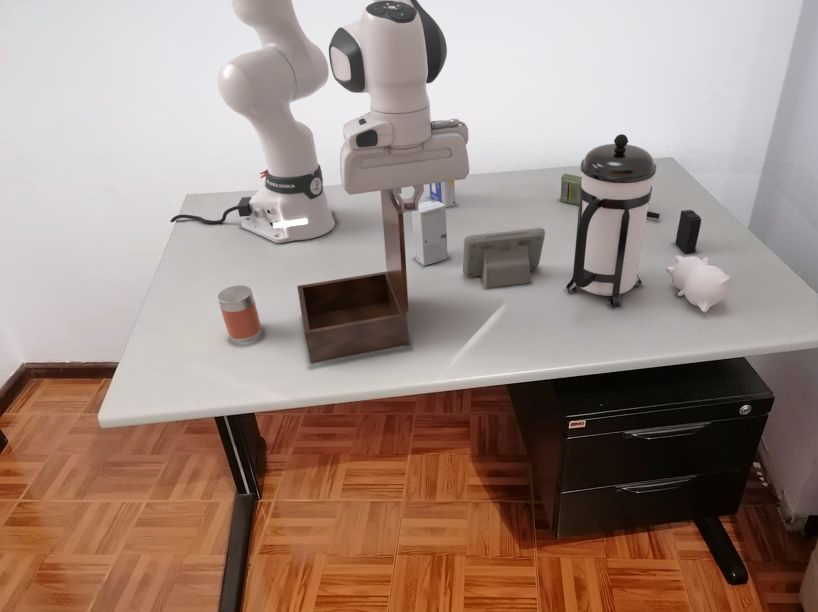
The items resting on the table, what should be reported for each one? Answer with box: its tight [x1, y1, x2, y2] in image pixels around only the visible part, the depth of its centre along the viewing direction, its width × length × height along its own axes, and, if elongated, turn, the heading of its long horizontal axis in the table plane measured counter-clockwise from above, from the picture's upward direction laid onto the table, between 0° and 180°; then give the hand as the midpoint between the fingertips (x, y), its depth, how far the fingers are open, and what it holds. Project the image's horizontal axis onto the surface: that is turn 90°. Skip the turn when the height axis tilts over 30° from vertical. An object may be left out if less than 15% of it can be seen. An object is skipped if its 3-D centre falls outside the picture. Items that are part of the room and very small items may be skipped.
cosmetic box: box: [411, 199, 449, 266], centre depth 132 cm, size 6×4×12 cm
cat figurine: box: [665, 254, 732, 313], centre depth 119 cm, size 9×11×12 cm
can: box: [217, 285, 263, 343], centre depth 111 cm, size 6×6×9 cm
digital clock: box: [462, 226, 546, 289], centre depth 126 cm, size 16×9×11 cm, turn 89°
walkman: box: [428, 180, 456, 208], centre depth 156 cm, size 8×3×12 cm, turn 32°
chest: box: [296, 270, 410, 364], centre depth 112 cm, size 17×16×7 cm
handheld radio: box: [560, 172, 661, 220], centre depth 152 cm, size 7×3×25 cm
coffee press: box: [565, 133, 657, 308], centre depth 115 cm, size 17×16×30 cm
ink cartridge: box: [675, 209, 702, 254], centre depth 135 cm, size 5×2×8 cm, turn 10°
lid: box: [380, 189, 410, 314], centre depth 107 cm, size 18×16×1 cm
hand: (409, 210), depth 104 cm, fingers closed
